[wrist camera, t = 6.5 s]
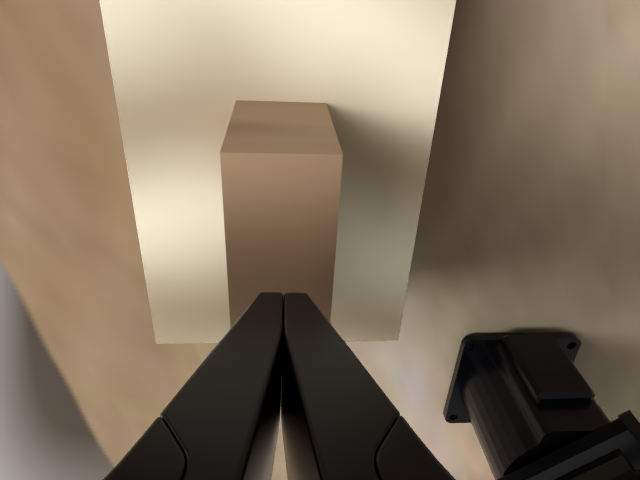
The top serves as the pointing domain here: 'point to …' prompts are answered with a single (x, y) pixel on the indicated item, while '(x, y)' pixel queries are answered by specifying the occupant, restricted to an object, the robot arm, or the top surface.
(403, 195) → the lid
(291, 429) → the robot arm
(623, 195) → the top surface
